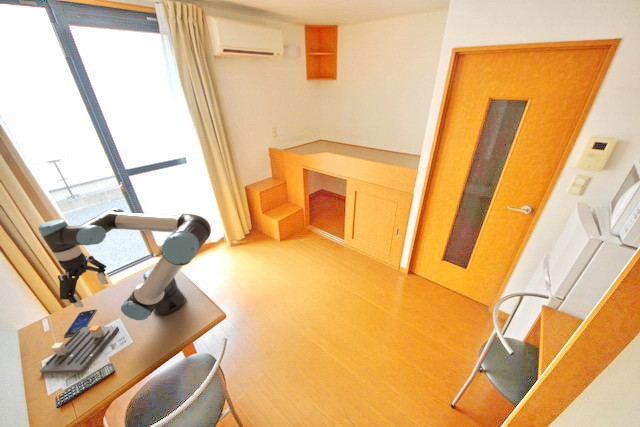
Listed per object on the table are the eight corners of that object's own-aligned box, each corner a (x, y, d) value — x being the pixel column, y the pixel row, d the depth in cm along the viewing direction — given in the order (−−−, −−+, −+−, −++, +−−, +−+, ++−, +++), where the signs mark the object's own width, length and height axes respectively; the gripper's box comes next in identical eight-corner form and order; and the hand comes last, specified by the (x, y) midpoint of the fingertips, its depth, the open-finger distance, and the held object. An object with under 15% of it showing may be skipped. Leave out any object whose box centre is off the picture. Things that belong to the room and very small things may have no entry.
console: (118, 329, 114) (116, 325, 113) (82, 372, 96) (79, 369, 95) (84, 329, 113) (82, 326, 112) (41, 373, 95) (38, 369, 94)
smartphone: (97, 308, 124) (82, 333, 111) (98, 309, 124) (82, 334, 112) (79, 312, 122) (62, 337, 109) (80, 313, 122) (63, 338, 110)
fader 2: (104, 333, 109) (99, 325, 107) (100, 337, 107) (95, 330, 105) (97, 333, 109) (92, 325, 107) (93, 337, 107) (88, 330, 105)
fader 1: (69, 350, 102) (63, 342, 99) (64, 355, 100) (58, 347, 98) (61, 350, 102) (55, 342, 99) (56, 355, 100) (50, 347, 97)
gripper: (86, 239, 108) (106, 275, 117) (28, 277, 86) (57, 318, 95) (103, 239, 108) (121, 275, 117) (49, 276, 86) (76, 317, 95)
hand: (93, 294), depth 106 cm, fingers open, 13 cm apart
